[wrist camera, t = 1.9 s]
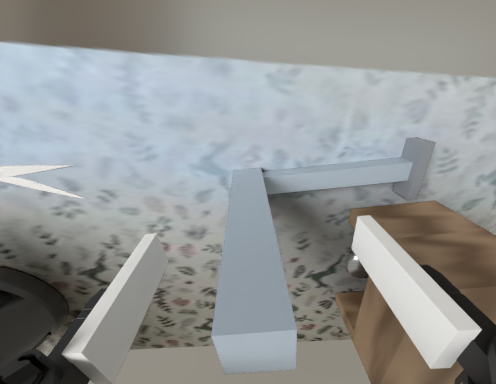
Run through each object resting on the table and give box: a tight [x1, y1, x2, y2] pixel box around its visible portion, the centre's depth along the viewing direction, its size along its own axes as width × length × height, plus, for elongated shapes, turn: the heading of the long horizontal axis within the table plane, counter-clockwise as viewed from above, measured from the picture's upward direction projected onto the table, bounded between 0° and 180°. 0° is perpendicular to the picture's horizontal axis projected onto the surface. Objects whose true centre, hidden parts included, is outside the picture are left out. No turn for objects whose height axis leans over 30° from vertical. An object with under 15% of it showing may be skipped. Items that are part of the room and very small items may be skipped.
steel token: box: [345, 251, 369, 278], centre depth 27 cm, size 5×5×1 cm
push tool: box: [211, 137, 435, 374], centre depth 14 cm, size 19×6×16 cm, turn 96°
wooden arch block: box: [335, 201, 496, 384], centre depth 23 cm, size 10×18×11 cm, turn 6°
